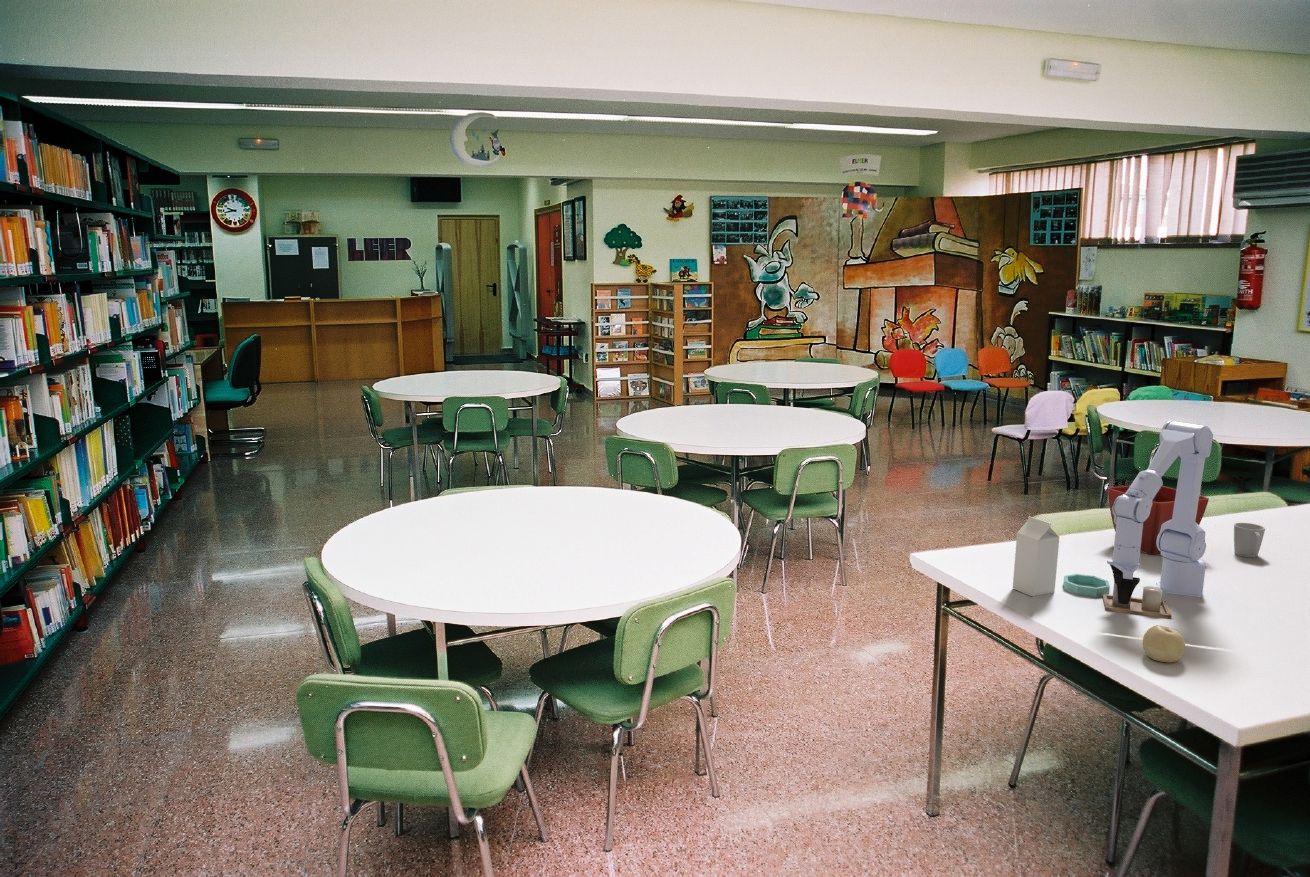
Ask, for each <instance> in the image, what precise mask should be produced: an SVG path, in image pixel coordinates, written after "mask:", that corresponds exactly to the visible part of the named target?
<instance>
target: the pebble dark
mask: <svg viewBox="0 0 1310 877" xmlns="http://www.w3.org/2000/svg"><path fill="white" fill-rule="evenodd" d="M1112 591H1113V592H1112V595H1113V599H1112V605H1113V606H1115V607H1119V608H1130V605H1131V599H1130V602H1129V604H1128V605H1127V604H1119V602H1118V596H1117V585H1116V583H1115V584H1114V583H1113V590H1112Z"/></svg>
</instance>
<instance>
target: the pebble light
mask: <svg viewBox="0 0 1310 877" xmlns="http://www.w3.org/2000/svg"><path fill="white" fill-rule="evenodd" d="M1162 595H1163V593H1162V590H1161V589H1160V588H1158V586H1157V587H1155V586H1150V585H1149V586H1143V588H1142V596H1141V598H1142V605H1141V608H1142V609H1143V610H1146V611H1150V612H1159V611H1160V606H1161V601H1162V597H1163V596H1162Z"/></svg>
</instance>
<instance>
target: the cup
mask: <svg viewBox="0 0 1310 877" xmlns="http://www.w3.org/2000/svg"><path fill="white" fill-rule="evenodd" d="M1265 532H1266V528H1265V526H1262V525H1259V524H1256V523H1251V522H1237V523H1234V524H1233V542H1234V543H1233V544H1234V546H1233V548H1234V551H1233V552H1234V554H1235V555H1237V556H1240V557H1244V558H1257V557H1258V556H1259V553H1260V550H1261V546H1262V544H1263V538H1264V535H1265Z"/></svg>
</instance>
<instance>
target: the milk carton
mask: <svg viewBox="0 0 1310 877" xmlns="http://www.w3.org/2000/svg"><path fill="white" fill-rule="evenodd" d="M1051 525H1052V524H1051V522H1048V521H1045V520H1043V519H1040V518H1036V517H1032V516H1030V515H1028V517H1027V521H1026V522H1025V523H1024V524H1023V525H1022V527H1020V529H1018V531H1017V532H1016V543H1015V553H1014V555H1015V556H1014V565H1013V566H1014V567H1013V577H1012V578H1013V580H1012V589H1014V590H1016V591H1018V592H1020V593H1023V594H1024V595H1027V596H1030V597H1031V598H1032V597H1037V596H1042V595H1048V594H1052V593H1053V594H1054V593H1055V590H1056V589H1055V588H1056V581H1057V580H1056V579H1057V569H1058V557H1059V548H1060V547H1059V546H1060V544H1059V543H1060V536H1059V534H1057V533H1056V532H1055V531H1054V530H1053V529H1052V528H1051Z"/></svg>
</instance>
